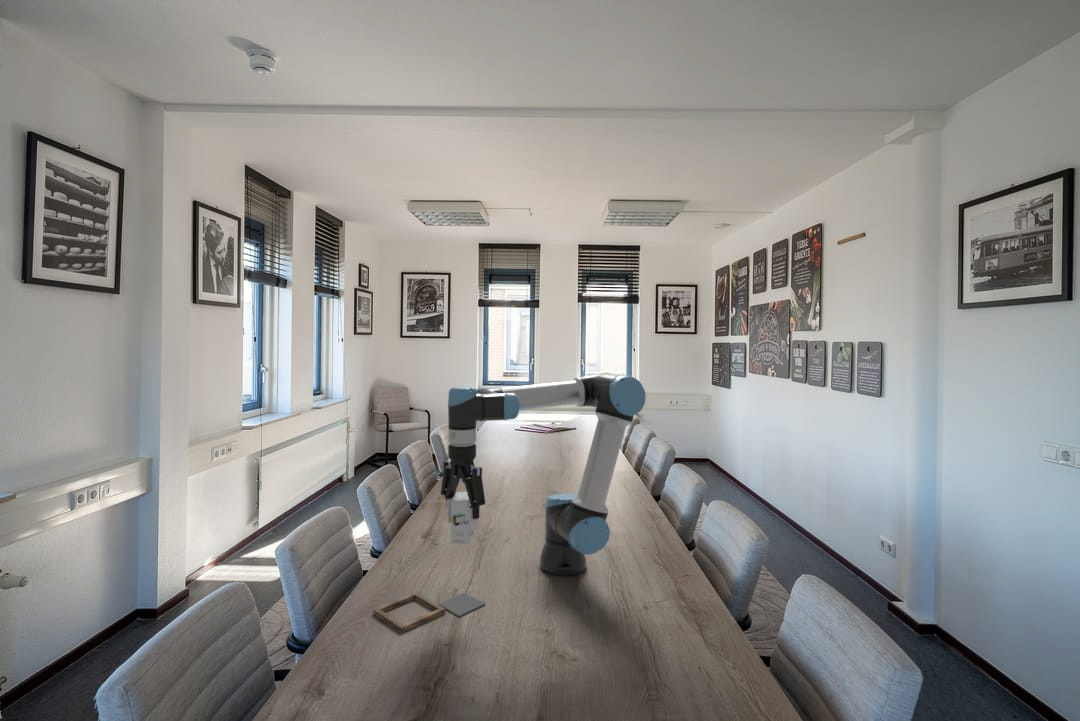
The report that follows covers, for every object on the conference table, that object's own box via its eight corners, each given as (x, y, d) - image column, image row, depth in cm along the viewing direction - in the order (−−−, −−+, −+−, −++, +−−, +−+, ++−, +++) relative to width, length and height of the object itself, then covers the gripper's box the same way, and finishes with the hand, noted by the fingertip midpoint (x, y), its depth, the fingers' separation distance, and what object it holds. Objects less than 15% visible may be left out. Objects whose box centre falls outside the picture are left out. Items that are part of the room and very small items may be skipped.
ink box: (456, 532, 147) (456, 491, 147) (473, 532, 147) (473, 491, 147) (450, 544, 139) (450, 500, 138) (468, 544, 139) (468, 500, 138)
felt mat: (464, 594, 150) (464, 592, 150) (485, 604, 144) (485, 603, 144) (438, 605, 143) (438, 603, 143) (459, 617, 137) (459, 615, 137)
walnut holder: (416, 596, 148) (416, 592, 148) (445, 613, 139) (445, 608, 139) (373, 613, 138) (373, 609, 138) (401, 633, 129) (401, 628, 129)
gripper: (427, 440, 147) (427, 520, 147) (477, 451, 132) (477, 539, 133) (448, 437, 152) (449, 513, 153) (499, 447, 138) (499, 532, 138)
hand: (462, 525), depth 143 cm, fingers closed on ink box, 9 cm apart
